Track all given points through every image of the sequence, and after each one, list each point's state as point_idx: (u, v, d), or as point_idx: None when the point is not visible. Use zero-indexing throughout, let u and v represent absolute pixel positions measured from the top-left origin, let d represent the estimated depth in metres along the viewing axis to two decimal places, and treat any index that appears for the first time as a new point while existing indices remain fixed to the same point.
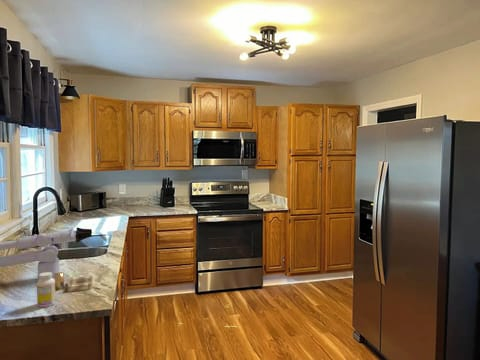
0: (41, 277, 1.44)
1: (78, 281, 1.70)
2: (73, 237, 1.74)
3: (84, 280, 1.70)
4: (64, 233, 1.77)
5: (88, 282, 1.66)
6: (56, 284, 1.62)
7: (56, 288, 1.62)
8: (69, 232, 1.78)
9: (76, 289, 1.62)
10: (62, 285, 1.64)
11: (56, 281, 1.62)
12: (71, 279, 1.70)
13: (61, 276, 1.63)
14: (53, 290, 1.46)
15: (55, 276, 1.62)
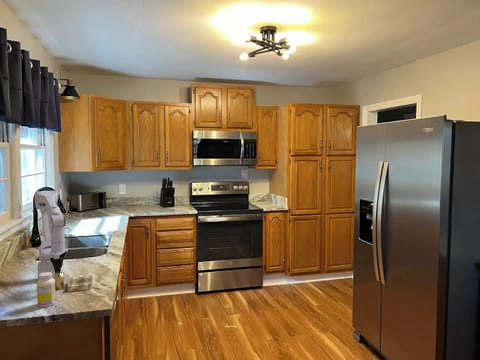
0: (41, 277, 1.44)
1: (78, 281, 1.70)
2: (57, 256, 1.57)
3: (84, 280, 1.70)
4: (62, 244, 1.62)
5: (88, 282, 1.66)
6: (56, 284, 1.62)
7: (56, 288, 1.62)
8: (62, 249, 1.62)
9: (76, 289, 1.62)
10: (62, 285, 1.64)
11: (56, 281, 1.62)
12: (71, 279, 1.70)
13: (61, 276, 1.63)
14: (53, 290, 1.46)
15: (55, 276, 1.62)
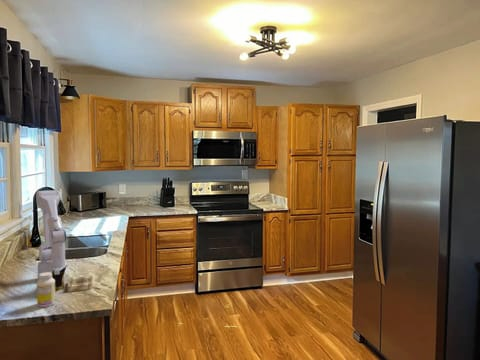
0: (41, 277, 1.44)
1: (78, 281, 1.70)
2: (57, 272, 1.57)
3: (84, 280, 1.70)
4: (62, 259, 1.62)
5: (88, 282, 1.66)
6: None
7: (56, 288, 1.62)
8: (63, 264, 1.63)
9: (76, 289, 1.62)
10: (62, 285, 1.64)
11: None
12: (71, 279, 1.70)
13: None
14: (53, 290, 1.46)
15: None
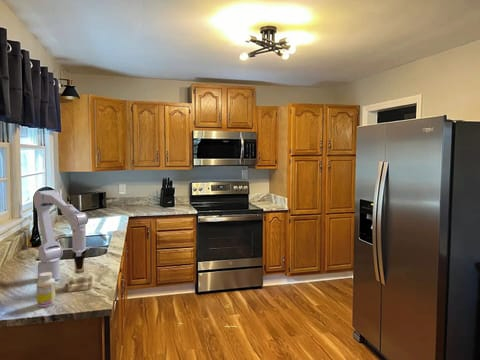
0: (41, 277, 1.44)
1: (78, 281, 1.70)
2: (79, 254, 1.60)
3: (84, 280, 1.70)
4: (83, 242, 1.65)
5: (88, 282, 1.66)
6: None
7: (77, 271, 1.65)
8: (84, 246, 1.65)
9: (76, 289, 1.62)
10: (82, 268, 1.66)
11: None
12: (71, 279, 1.70)
13: None
14: (53, 290, 1.46)
15: None
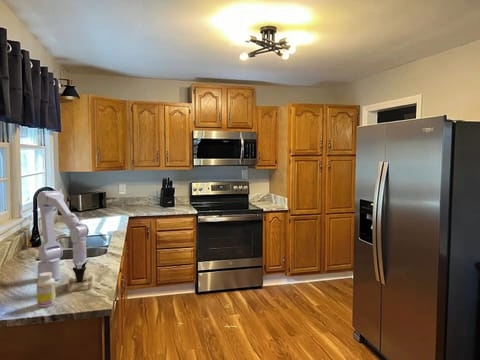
0: (41, 277, 1.44)
1: None
2: (80, 266, 1.60)
3: None
4: (84, 254, 1.66)
5: (88, 282, 1.66)
6: (77, 282, 1.65)
7: None
8: (84, 258, 1.66)
9: (76, 289, 1.62)
10: None
11: None
12: (71, 279, 1.70)
13: None
14: (53, 290, 1.46)
15: None
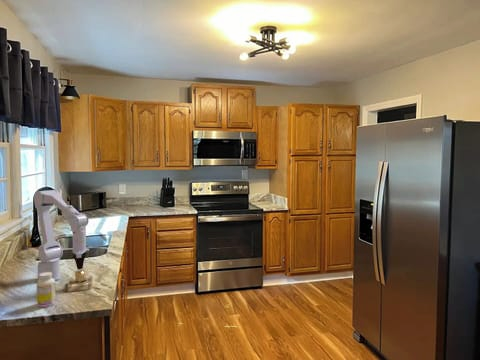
0: (41, 277, 1.44)
1: None
2: (79, 256, 1.60)
3: None
4: (83, 243, 1.65)
5: (88, 282, 1.66)
6: (77, 282, 1.65)
7: None
8: (84, 248, 1.66)
9: (76, 289, 1.62)
10: None
11: (77, 279, 1.65)
12: (71, 279, 1.70)
13: (82, 274, 1.66)
14: (53, 290, 1.46)
15: (76, 274, 1.65)
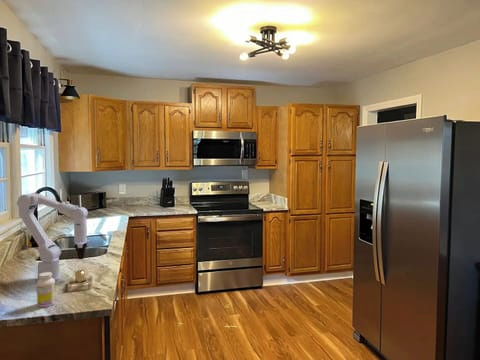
0: (41, 277, 1.44)
1: None
2: (80, 246, 1.71)
3: None
4: (84, 234, 1.76)
5: (88, 282, 1.66)
6: (77, 282, 1.65)
7: None
8: (85, 239, 1.76)
9: (76, 289, 1.62)
10: None
11: (77, 279, 1.65)
12: (71, 279, 1.70)
13: (82, 274, 1.66)
14: (53, 290, 1.46)
15: (76, 274, 1.65)
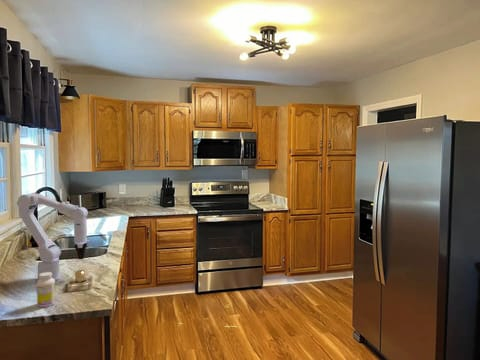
0: (41, 277, 1.44)
1: None
2: (80, 246, 1.71)
3: None
4: (84, 234, 1.76)
5: (88, 282, 1.66)
6: (77, 282, 1.65)
7: None
8: (85, 239, 1.76)
9: (76, 289, 1.62)
10: None
11: (77, 279, 1.65)
12: (71, 279, 1.70)
13: (82, 274, 1.66)
14: (53, 290, 1.46)
15: (76, 274, 1.65)
